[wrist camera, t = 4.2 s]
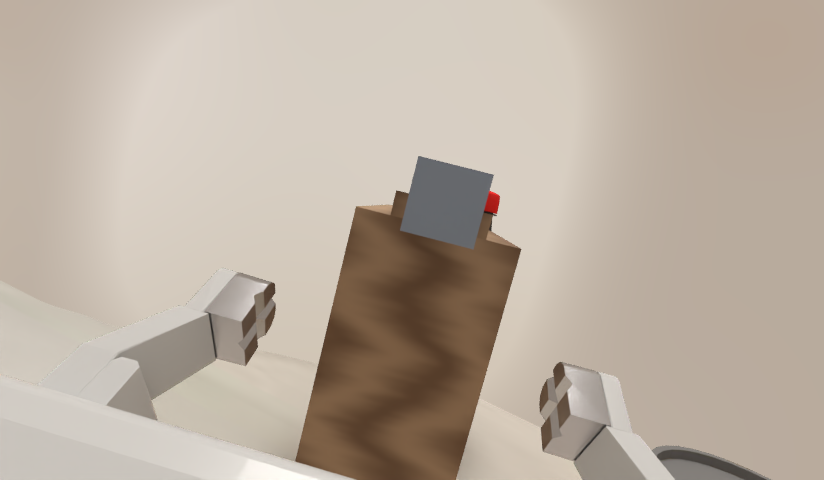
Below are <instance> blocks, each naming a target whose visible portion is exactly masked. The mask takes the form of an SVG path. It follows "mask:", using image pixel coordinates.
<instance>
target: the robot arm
mask: <svg viewBox="0 0 824 480" xmlns="http://www.w3.org/2000/svg"><path fill="white" fill-rule="evenodd" d="M274 294H275V284H274V283H272V282H269V281H266V280H263V279H259V278H256V277H253V276H249V275H246V274H243V273H239V272H235V271H232V270H229V269H225V268H222V269H219V270H218V271H216V272H215V274H214V275H213V276H212V277H211V278H210V279H209V280H208V281H207V282H206V283H205V284H204V285H203V287H202V288H201V289H200V290H199V291H198V292H197V293H196V294H195V295H194V296H193V297H192V299H191V300H190V301H189V302H188V303H187V304H186V305H185V306H180V305H178V306H176V307H173V308H171V309H168V310H166V311H163V312H161V313H158V314H156V315H153V316H151V317H148V318H145V319H143V320H140V321H138V322H135V323H133V324H130V325H128V326H125V327H123V328H120V329H118V330H115V331H112V332H110V333H107V334H105V335H102V336H100V337H97V338H95V339H92V340H90V341H87V342H85V343H82V344H81V345H80V346H79V347H78V348H77V349H76V350H75V351H74V352H72V353H71V354H70V355H69V356H68V357H67V358H66V359H65V360H64V361H63V362H61V363H60V364H59V365H58V366H57V367H56V368H55V369H54V370H53V371H52V372H51V373H49V374H48V375H47V376H46V377H45V378H44V379H43V380H42V381H41V382H40V383H39V384H37V385H36V384H32V383H29V382H26V381H22V380H19V379H15V378H12V377H9V376H5V375H2V374H0V480H356V479H352V478H349V477H346V476H342V475H339V474H336V473H332V472H329V471H325V470H322V469H319V468H315V467H312V466H309V465H305V464H302V463H298V462H295V461H292V460H288V459H285V458H282V457H278V456H275V455H271V454H268V453H265V452H261V451H258V450H255V449H251V448H248V447H244V446H241V445H238V444H234V443H231V442H228V441H224V440H221V439H217V438H214V437H211V436H207V435H204V434H201V433H197V432H194V431H191V430H187V429H184V428H180V427H177V426H174V425H170V424H167V423H164V422H160V421H157V415H156V413H155V410H154V407H153V404H152V401H151V400H153V399H154V398H156V397H157V396H159V395H161V394H162V393H164V392H166V391H167V390H169V389H170V388H172V387H174V386H175V385H177V384H178V383H180V382H182V381H183V380H185V379H186V378H188V377H190V376H191V375H193V374H194V373H196V372H198V371H199V370H201V369H203V368H204V367H206V366H207V365H209V364H211V363H212V362H214V361H215V360H216V359H220V360H224V361H228V362H232V363H235V364H239V365H243V366H246V365H247V363H248V362H249V360H250V358H251V357H252V355H253V354H254V352H255V351H256V349H257V347H258V345H257V344H258V343H257V339H258V338H260V337H262V336H264V335H266V333H267V331H268V330H269V328H270V326H271V324H272V321H273V319H274V315H275V309H276V308H275V302H274V301H273V300H272V297H273V295H274ZM553 373H554V377H552V378H549V379H547V380H546V382H545V384H544V386H543V388H542V391H541V395H540V413H541V415H542V416H543V418H544V419H545V423H544V424H543V426H542V427H541V435H542V448H543V452H546V453H549V454H552V455H555V456H559V457H562V458H565V459H568V460H571V461H574V465H575V467H576V468H577V470H578V472H579V474H580V476H581V477H582V479H583V480H675V479H674V478H673V476H672V475H671V474H670V473H669V471H668V470H667V469H666V468H665V467H664V465H663V464H662V463H661V462H660V460H659V459H658V458H657V457H656V456H655V454H654V453H653V452H652V451H651V449H650V448H649V447H648V446H647V445H646V443H645V442H644V441H643V440H642V439H641V438H640V436H639V435H637V434H634V433H633V432H632V428H631V424H630V420H629V417H628V413H627V409H626V405H625V402H624V398H623V394H622V390H621V386H620V383H619V380H618V379H617V377H615V376H612V375H607V374H604V373H601V372H596V371H594V370H590V369H586V368H582V367H579V366H575V365H571V364H567V363H563V362H559V363H558V364H557V365H556V366H555V368H554V370H553Z"/></svg>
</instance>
